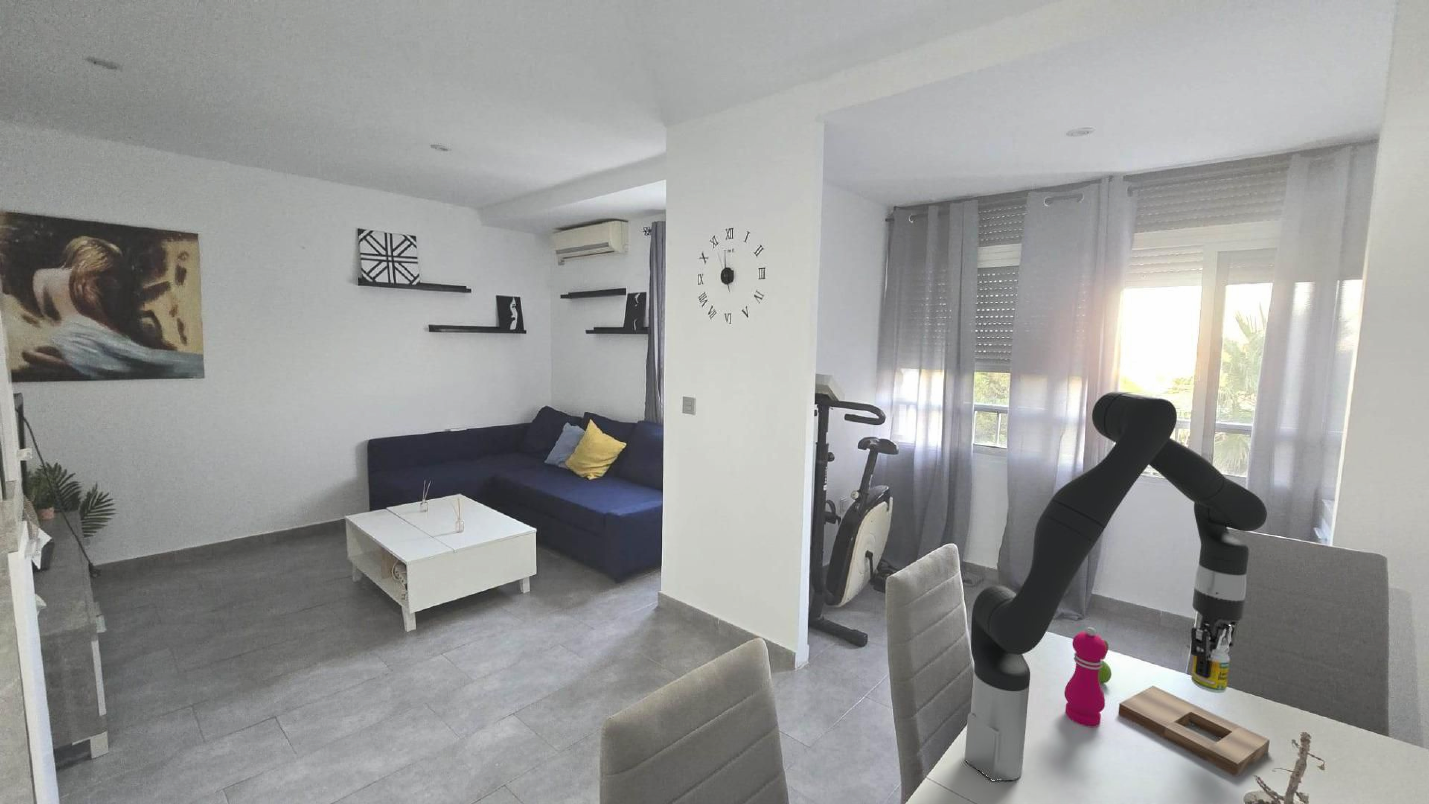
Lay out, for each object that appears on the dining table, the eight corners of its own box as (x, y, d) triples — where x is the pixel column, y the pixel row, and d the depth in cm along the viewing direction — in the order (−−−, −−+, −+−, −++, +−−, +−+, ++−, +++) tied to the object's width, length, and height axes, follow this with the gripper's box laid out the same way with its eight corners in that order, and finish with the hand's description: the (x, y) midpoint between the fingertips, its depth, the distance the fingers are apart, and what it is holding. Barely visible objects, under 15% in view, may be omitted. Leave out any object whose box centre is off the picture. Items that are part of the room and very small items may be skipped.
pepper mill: (1091, 708, 127) (1099, 620, 124) (1110, 730, 119) (1119, 637, 117) (1056, 705, 127) (1064, 618, 125) (1073, 727, 120) (1081, 635, 118)
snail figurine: (1074, 679, 137) (1079, 630, 136) (1092, 673, 140) (1096, 625, 139) (1098, 692, 133) (1103, 641, 131) (1115, 685, 135) (1120, 636, 134)
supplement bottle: (1196, 675, 120) (1201, 630, 119) (1230, 688, 116) (1235, 642, 114) (1186, 683, 117) (1191, 638, 116) (1220, 697, 113) (1226, 650, 112)
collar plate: (1236, 776, 107) (1238, 764, 107) (1118, 714, 125) (1119, 703, 124) (1268, 751, 114) (1269, 739, 114) (1151, 696, 131) (1153, 685, 131)
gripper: (1226, 605, 107) (1216, 692, 109) (1259, 590, 114) (1249, 672, 116) (1178, 590, 114) (1169, 671, 116) (1212, 576, 121) (1203, 654, 123)
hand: (1209, 671), depth 116 cm, fingers closed on supplement bottle, 5 cm apart
